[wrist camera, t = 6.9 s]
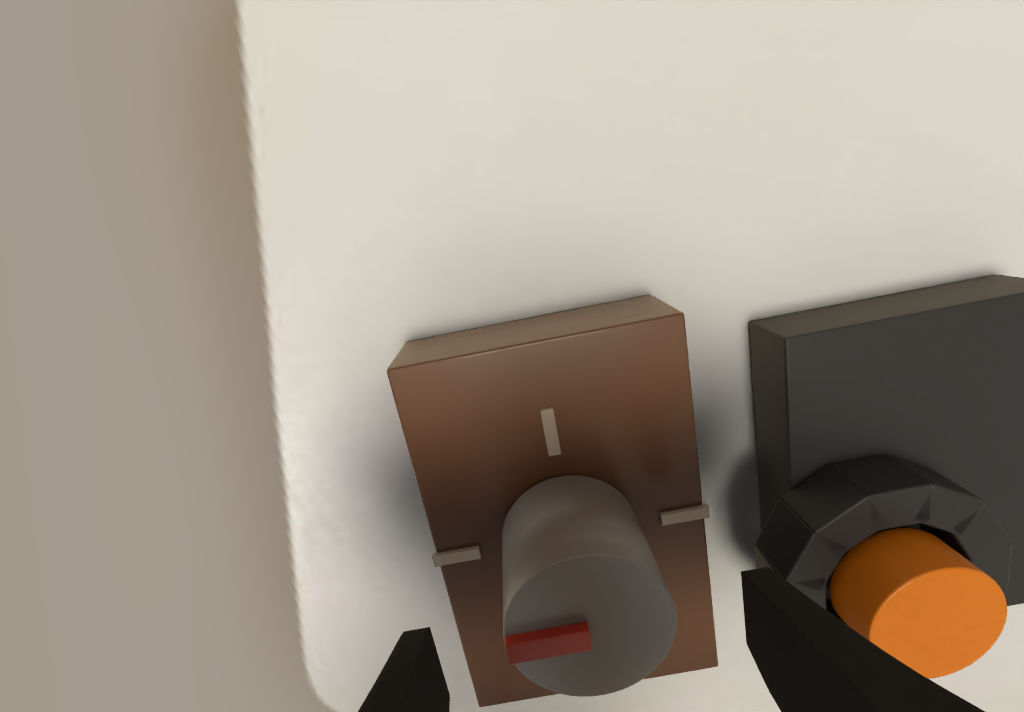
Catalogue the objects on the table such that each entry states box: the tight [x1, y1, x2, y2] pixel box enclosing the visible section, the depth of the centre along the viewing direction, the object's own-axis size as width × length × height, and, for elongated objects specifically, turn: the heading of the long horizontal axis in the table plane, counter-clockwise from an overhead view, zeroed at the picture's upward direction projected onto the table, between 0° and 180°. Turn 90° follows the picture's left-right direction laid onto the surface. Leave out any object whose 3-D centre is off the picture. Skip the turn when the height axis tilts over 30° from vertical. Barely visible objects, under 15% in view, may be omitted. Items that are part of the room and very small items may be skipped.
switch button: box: [829, 528, 1007, 679], centre depth 14 cm, size 4×4×2 cm
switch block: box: [749, 275, 1024, 624], centre depth 16 cm, size 11×9×4 cm
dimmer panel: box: [387, 295, 718, 707], centre depth 16 cm, size 12×8×3 cm
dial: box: [502, 475, 677, 696], centre depth 13 cm, size 4×4×4 cm
